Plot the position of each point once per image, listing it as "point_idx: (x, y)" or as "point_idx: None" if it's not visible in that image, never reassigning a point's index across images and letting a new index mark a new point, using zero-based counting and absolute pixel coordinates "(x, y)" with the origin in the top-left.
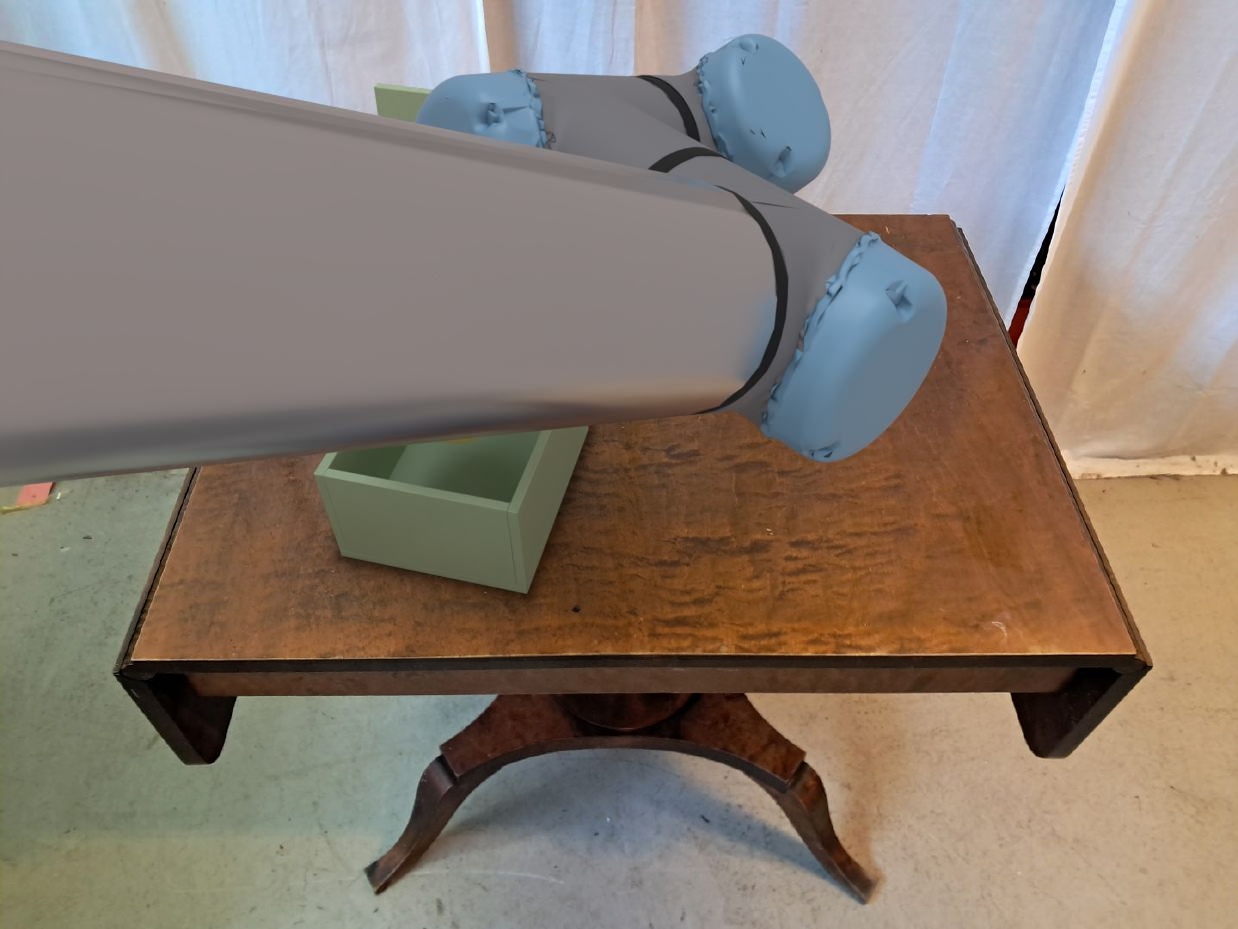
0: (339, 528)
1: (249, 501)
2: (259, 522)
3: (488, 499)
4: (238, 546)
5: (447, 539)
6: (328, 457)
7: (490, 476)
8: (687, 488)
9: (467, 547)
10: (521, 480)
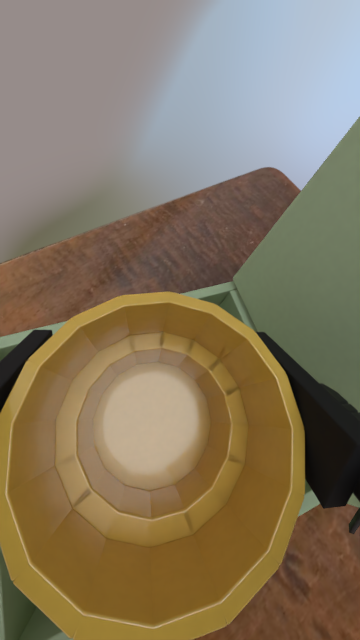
0: None
1: (59, 280)
2: (44, 297)
3: (1, 614)
4: (17, 299)
5: None
6: (3, 341)
7: None
8: (264, 620)
9: None
10: (62, 635)
